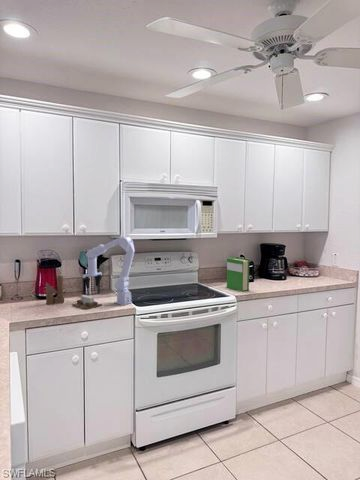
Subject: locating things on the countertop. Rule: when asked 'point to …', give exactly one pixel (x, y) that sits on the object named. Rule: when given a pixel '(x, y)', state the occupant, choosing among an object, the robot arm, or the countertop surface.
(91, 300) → the light gray block
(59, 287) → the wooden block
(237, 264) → the hardback book
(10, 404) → the countertop surface
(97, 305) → the rack
